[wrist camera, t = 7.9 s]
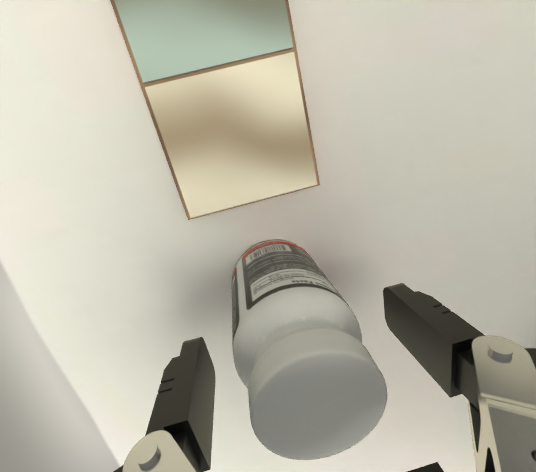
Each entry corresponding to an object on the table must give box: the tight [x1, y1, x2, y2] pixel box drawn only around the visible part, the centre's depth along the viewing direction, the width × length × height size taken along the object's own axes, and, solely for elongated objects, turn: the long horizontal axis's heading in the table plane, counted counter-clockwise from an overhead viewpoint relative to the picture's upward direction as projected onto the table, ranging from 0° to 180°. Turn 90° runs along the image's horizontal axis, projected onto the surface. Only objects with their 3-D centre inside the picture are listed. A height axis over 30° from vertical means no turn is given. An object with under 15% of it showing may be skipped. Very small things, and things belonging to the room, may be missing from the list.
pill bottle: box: [232, 240, 387, 460], centre depth 13 cm, size 6×6×10 cm
